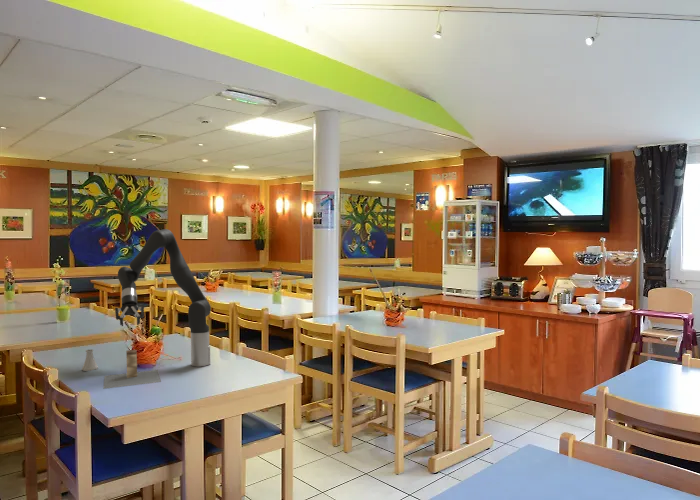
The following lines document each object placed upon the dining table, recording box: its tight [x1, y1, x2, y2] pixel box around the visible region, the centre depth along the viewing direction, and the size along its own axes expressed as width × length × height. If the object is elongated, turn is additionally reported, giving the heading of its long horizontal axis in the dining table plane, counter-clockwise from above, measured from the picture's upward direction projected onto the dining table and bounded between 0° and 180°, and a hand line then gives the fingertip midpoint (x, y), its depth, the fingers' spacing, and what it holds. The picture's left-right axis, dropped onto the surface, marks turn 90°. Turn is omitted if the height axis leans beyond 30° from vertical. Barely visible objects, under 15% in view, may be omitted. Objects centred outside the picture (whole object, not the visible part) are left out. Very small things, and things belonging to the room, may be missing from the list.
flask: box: [81, 349, 99, 372], centre depth 258 cm, size 7×7×10 cm
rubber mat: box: [102, 369, 162, 390], centre depth 240 cm, size 24×22×1 cm
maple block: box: [125, 349, 138, 378], centre depth 245 cm, size 4×4×12 cm
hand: (130, 324), depth 258 cm, fingers open, 6 cm apart
